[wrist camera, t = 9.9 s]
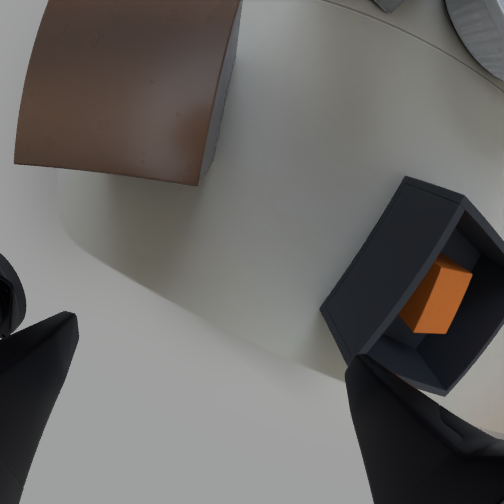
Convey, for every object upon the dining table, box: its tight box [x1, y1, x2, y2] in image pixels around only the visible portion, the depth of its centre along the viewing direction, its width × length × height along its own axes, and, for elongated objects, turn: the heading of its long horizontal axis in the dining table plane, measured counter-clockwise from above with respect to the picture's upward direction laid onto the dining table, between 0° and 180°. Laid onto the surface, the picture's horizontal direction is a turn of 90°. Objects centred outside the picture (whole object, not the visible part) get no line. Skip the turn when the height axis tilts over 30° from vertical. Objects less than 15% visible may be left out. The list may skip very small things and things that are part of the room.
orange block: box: [398, 253, 473, 334], centre depth 20 cm, size 5×4×4 cm
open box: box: [320, 176, 504, 397], centre depth 20 cm, size 12×12×7 cm
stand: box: [14, 0, 243, 186], centre depth 12 cm, size 7×7×10 cm
